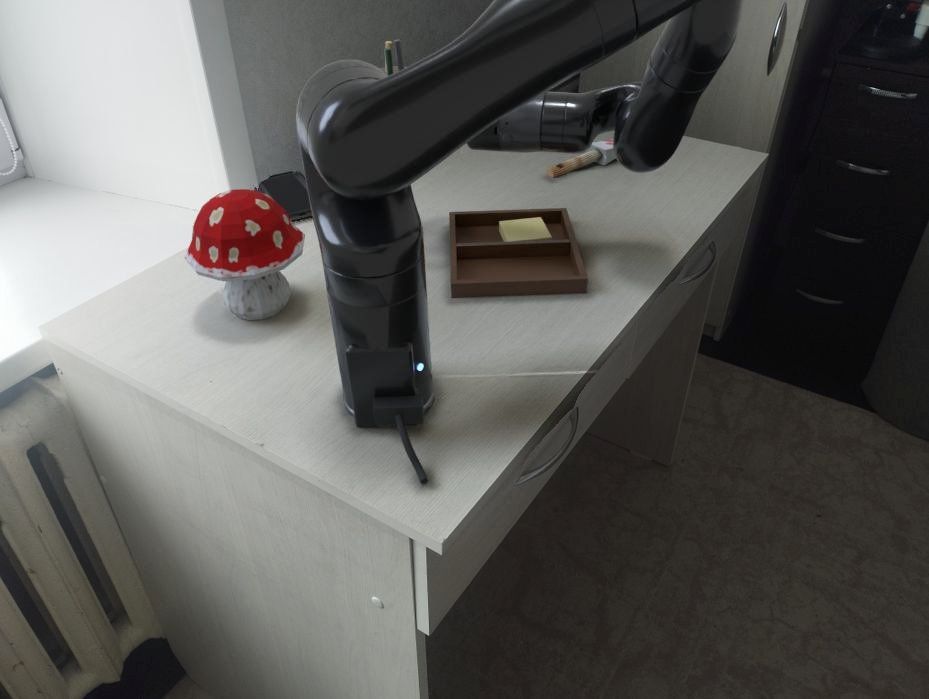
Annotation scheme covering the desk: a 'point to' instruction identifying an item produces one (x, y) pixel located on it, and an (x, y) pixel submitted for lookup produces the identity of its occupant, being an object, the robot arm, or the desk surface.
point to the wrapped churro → (586, 158)
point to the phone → (288, 193)
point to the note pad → (524, 230)
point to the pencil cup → (388, 58)
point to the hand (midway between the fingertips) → (378, 112)
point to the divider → (513, 249)
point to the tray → (513, 271)
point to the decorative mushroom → (246, 250)
